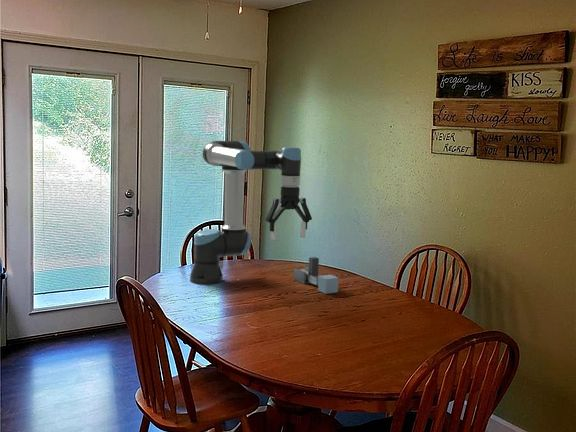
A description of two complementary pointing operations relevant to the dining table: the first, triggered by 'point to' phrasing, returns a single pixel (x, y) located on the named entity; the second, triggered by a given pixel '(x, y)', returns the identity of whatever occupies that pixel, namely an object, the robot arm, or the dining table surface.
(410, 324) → the dining table surface
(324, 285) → the socket
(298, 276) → the open u-shaped channel
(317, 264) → the gray bent bar
